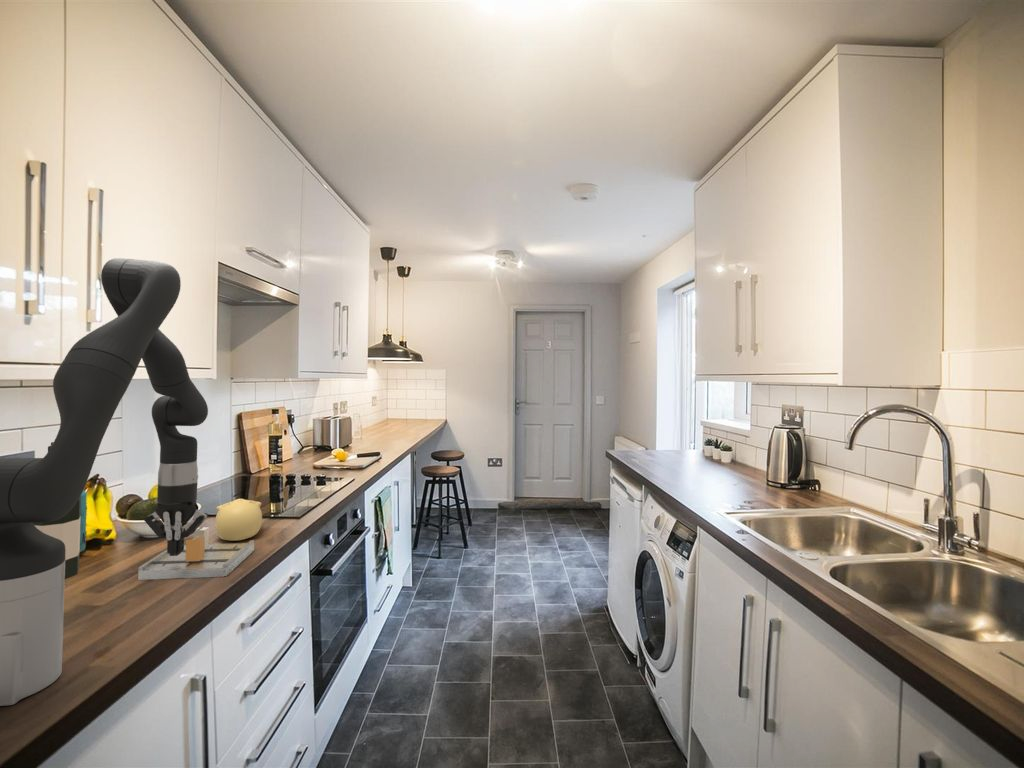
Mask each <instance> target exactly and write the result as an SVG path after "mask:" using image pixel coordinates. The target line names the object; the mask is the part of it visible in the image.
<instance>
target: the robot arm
mask: <svg viewBox="0 0 1024 768" xmlns="http://www.w3.org/2000/svg"><path fill="white" fill-rule="evenodd" d="M100 278H101V279H100V280H101V285H102V289H103V291H104V294H105V296H106V298H107V300H108V302H109V304H110V305H111V308H112V309H113V310H114V312H115V314H116V315H117V317H115V318H114V319H112V320H110V321H108V322H106V323H105V324H102V325H101V326H99V327H97V328H96V329H94V330H92V331H91V332H89V333H87V334H86V335H84V336H83V337H81V338H80V339H79V340H78V341H76V342H75V343H74V345H73V346H71V348H70V349H69V351H68V352H67V354H66V356H65V357H64V359H63V360H62V362H61V364H60V365H59V367H58V368H57V370H56V372H55V374H54V378H53V381H52V389H53V394H54V398H55V402H56V406H57V409H58V412H59V413H58V414H59V416H60V425H59V429H58V432H57V435H56V436H55V439H54V440H53V442H54V443H53V445H52V446H51V445H50V446H51V448H50V450H49V451H48V450H47V453H46V454H45V456H44V457H3V458H0V707H3V706H5V707H6V706H13V705H15V704H17V703H18V702H19V701H21V700H22V699H24V698H27V697H29V696H31V695H34V694H36V693H38V692H40V691H42V690H44V689H45V688H47V687H48V686H50V685H52V684H53V683H54V682H55V681H57V680H58V678H60V676H61V675H62V671H63V670H62V669H63V648H64V647H63V644H64V643H63V640H64V639H63V638H64V609H65V608H64V607H65V605H64V604H65V580H66V579H65V551H66V550H65V544H64V543H63V542H62V541H61V540H59V539H57V538H54V537H52V536H49V535H47V534H45V533H43V532H41V531H40V530H39V529H37V528H36V527H35V526H34V524H33V523H34V522H51V521H56V520H58V519H60V518H62V517H64V516H65V515H66V514H68V513H69V512H70V511H71V509H72V508H73V507H74V506H75V505H76V503H77V501H78V500H79V498H80V496H81V494H82V492H83V490H84V491H85V487H86V485H87V482H88V480H89V476H90V475H91V471H92V468H93V466H94V463H95V461H96V458H97V454H98V452H99V449H100V446H101V443H102V441H103V438H104V436H105V434H106V432H107V429H108V428H109V426H110V424H111V421H112V419H113V417H114V414H115V412H116V410H117V409H118V406H119V405H120V402H121V401H122V398H123V396H124V395H125V394H126V392H127V390H128V388H129V386H130V384H131V382H132V380H133V379H134V375H136V372H137V369H138V367H139V366H140V362H141V360H142V362H143V363H144V368H145V370H146V373H147V376H148V379H149V381H150V384H151V386H152V390H153V391H154V392H155V393H156V394H159V395H161V396H159V397H157V399H155V401H154V402H153V404H152V407H151V418H152V422H153V424H154V427H155V430H156V434H157V438H158V443H159V447H160V449H159V451H160V452H159V466H158V467H159V468H158V472H157V492H156V493H157V494H156V496H157V497H156V498H157V499H156V501H157V505H156V507H155V509H154V512H152V513H151V514H149V515H146V516H145V517H144V518H143V520H144V522H145V523H146V524H147V525H148V527H149V528H150V529H151V530H152V532H154V534H155V535H156V536H157V537H158V538H159V539H161V538H162V539H163V538H164V539H166V540H167V541H166V542H167V544H166V545H167V546H166V550H167V552H168V553H169V555H170V556H178V555H179V554H180V553H181V552H182V551H183V550H184V545H185V538H189V537H190V536H191V534H193V533H194V532H195V531H196V529H197V528H200V526H201V525H202V524H203V523H204V522H205V521H206V519H207V518H208V517H209V514H208V513H207V512H205V513H204V512H202V511H200V509H199V505H198V503H197V498H198V479H199V474H198V473H199V469H198V440H197V438H196V437H194V436H191V435H187V434H184V433H181V432H179V430H178V428H177V427H196V426H200V425H201V424H204V422H205V421H206V420H207V418H208V414H209V407H208V404H207V401H206V400H205V398H204V396H203V394H202V393H201V392H200V390H199V389H198V388H197V387H196V385H195V384H194V382H193V381H192V379H191V377H190V374H189V371H188V368H187V367H188V366H187V364H186V361H185V358H184V356H183V354H182V352H181V351H180V350H179V348H178V347H177V346H176V344H175V343H174V342H172V340H170V338H169V337H168V336H167V335H165V334H164V333H163V332H162V331H161V330H160V327H161V325H162V324H163V323H164V321H165V320H166V318H167V317H168V315H169V314H170V312H171V310H172V309H173V307H174V306H175V304H176V302H177V300H178V299H179V296H180V292H181V286H182V285H181V276H180V274H179V272H178V270H177V269H176V268H175V267H174V266H173V265H171V264H169V263H165V262H161V261H157V260H156V261H155V260H145V259H137V258H136V259H135V258H124V257H123V258H122V257H121V258H120V257H119V258H111V259H109V260H107V261H106V262H105V263H104V265H103V267H102V268H101V273H100ZM191 519H193V522H192V523H191V524H190V526H189V527H188V525H189V521H190V520H191Z"/></svg>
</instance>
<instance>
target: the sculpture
mask: <svg viewBox="0 0 1024 768" xmlns="http://www.w3.org/2000/svg"><path fill="white" fill-rule="evenodd" d="M261 506H262V502H260V501H255V500H251V499H250V500H249V499H244V498H237V499H234V500H232V501H229V502H226V503H224V504H221V505H218V506H216V510H217V514H216V516H215V520H214V524H215V531H216V534H217V536H218V538H220V539H221V540H224V541H233V542H234V541H243V540H246V539H250V538H252V537H254V536H255V535H257V534H258V532H259V531H260V529H261V527H262V523H263V512H262V510H261Z"/></svg>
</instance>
